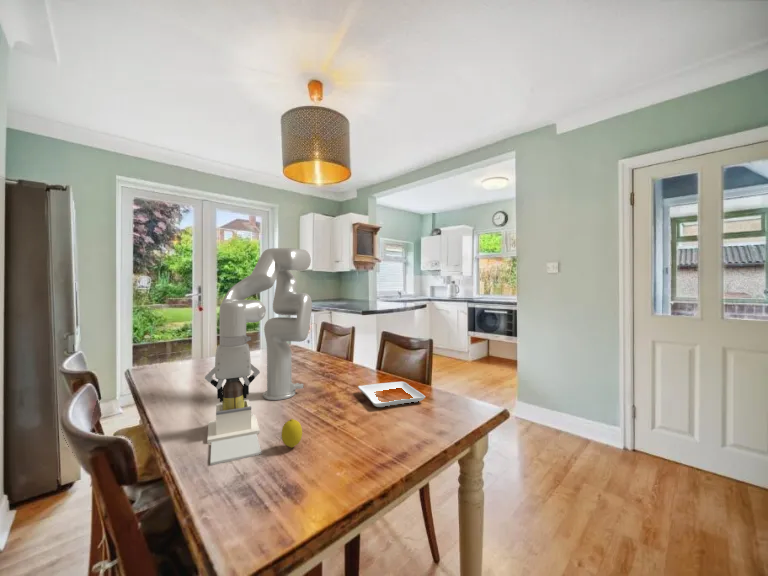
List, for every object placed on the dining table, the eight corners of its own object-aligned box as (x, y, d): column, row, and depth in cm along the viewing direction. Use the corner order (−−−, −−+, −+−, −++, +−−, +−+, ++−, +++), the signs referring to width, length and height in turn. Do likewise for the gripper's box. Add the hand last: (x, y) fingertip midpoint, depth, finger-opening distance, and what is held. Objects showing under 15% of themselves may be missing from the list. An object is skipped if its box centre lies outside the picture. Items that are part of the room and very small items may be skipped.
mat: (256, 435, 99) (256, 433, 99) (261, 454, 88) (261, 452, 88) (211, 444, 93) (211, 442, 93) (210, 465, 83) (210, 462, 83)
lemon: (294, 441, 95) (294, 413, 95) (306, 447, 92) (306, 418, 92) (277, 448, 91) (277, 419, 91) (289, 454, 88) (289, 425, 88)
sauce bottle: (243, 423, 107) (243, 362, 107) (245, 430, 102) (246, 366, 102) (221, 427, 104) (221, 364, 104) (222, 435, 99) (223, 368, 99)
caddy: (255, 416, 113) (255, 394, 112) (259, 433, 100) (259, 408, 100) (208, 424, 106) (208, 401, 106) (207, 443, 94) (207, 416, 94)
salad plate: (426, 404, 125) (427, 395, 125) (374, 412, 118) (374, 402, 118) (403, 388, 145) (403, 380, 145) (357, 394, 137) (357, 385, 137)
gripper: (261, 337, 110) (261, 391, 110) (202, 341, 102) (202, 399, 102) (263, 341, 103) (263, 398, 103) (200, 345, 95) (201, 407, 96)
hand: (233, 398), depth 103 cm, fingers closed on sauce bottle, 6 cm apart
